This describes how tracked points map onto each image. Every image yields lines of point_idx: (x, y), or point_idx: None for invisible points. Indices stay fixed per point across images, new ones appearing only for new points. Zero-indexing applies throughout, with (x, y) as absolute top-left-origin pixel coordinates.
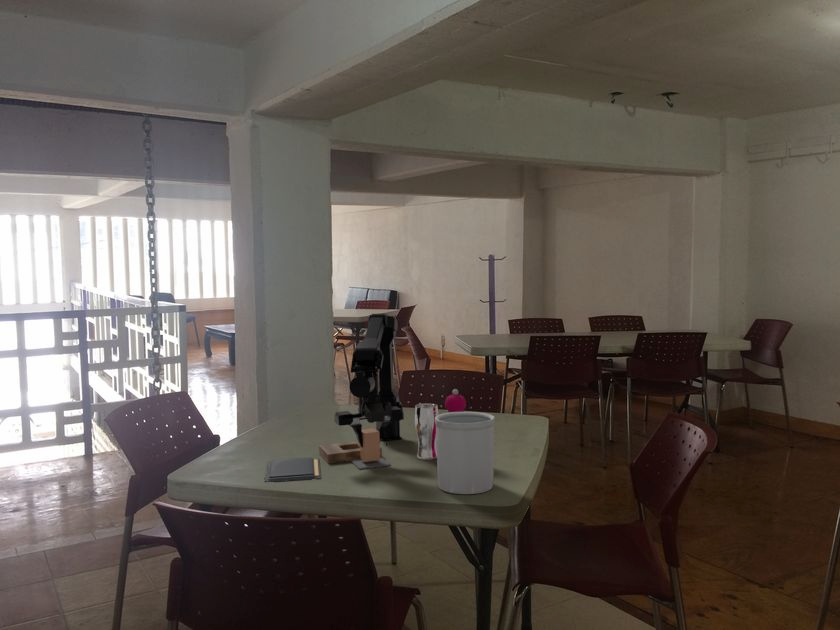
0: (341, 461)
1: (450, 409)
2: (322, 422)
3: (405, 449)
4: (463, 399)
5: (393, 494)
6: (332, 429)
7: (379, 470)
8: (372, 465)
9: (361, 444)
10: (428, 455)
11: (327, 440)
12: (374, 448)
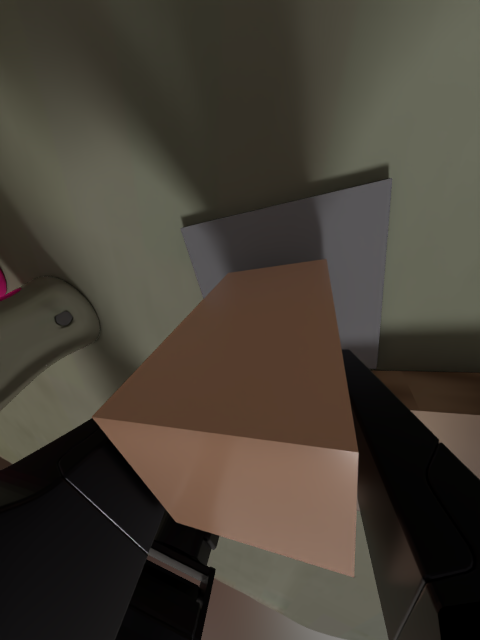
0: (430, 373)
1: None
2: (330, 600)
3: None
4: None
5: None
6: (322, 575)
7: (249, 124)
8: (281, 229)
9: (353, 362)
10: (34, 283)
11: (365, 549)
12: (238, 300)
